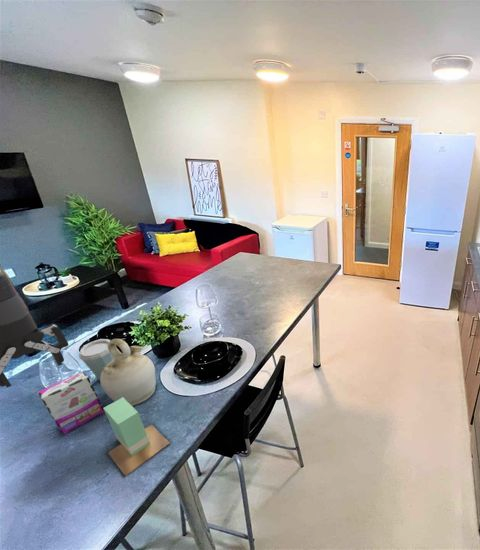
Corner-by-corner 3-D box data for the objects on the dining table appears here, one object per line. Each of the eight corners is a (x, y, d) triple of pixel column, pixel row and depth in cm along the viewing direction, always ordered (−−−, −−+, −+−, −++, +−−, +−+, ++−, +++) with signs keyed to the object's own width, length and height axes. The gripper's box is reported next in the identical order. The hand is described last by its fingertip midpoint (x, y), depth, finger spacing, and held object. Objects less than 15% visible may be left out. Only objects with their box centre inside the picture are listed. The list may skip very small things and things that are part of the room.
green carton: (117, 424, 81) (102, 408, 86) (132, 456, 87) (117, 439, 92) (138, 412, 85) (123, 396, 90) (150, 443, 91) (135, 427, 96)
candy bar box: (100, 405, 104) (83, 370, 97) (105, 412, 101) (89, 376, 94) (57, 428, 95) (36, 391, 88) (62, 436, 93) (40, 398, 86)
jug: (147, 373, 118) (129, 322, 108) (168, 389, 112) (151, 336, 101) (101, 398, 106) (76, 343, 96) (122, 418, 99) (97, 361, 89)
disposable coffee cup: (129, 375, 117) (117, 345, 111) (94, 390, 109) (79, 359, 103) (121, 363, 123) (109, 334, 117) (88, 377, 115) (73, 346, 109)
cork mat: (125, 476, 82) (125, 475, 82) (108, 453, 88) (107, 452, 88) (170, 443, 92) (169, 442, 92) (151, 424, 97) (151, 424, 97)
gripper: (43, 298, 70) (69, 352, 76) (-55, 326, 59) (-15, 386, 65) (53, 308, 66) (79, 363, 73) (-50, 339, 55) (-8, 401, 62)
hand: (34, 374), depth 69 cm, fingers open, 8 cm apart
